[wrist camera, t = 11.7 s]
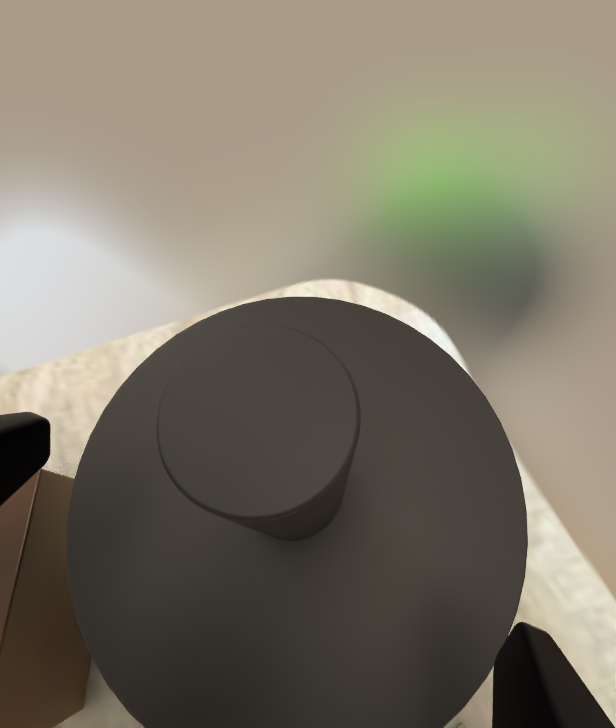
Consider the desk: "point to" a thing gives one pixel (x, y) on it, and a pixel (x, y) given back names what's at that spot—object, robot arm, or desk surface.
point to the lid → (297, 526)
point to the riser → (38, 609)
